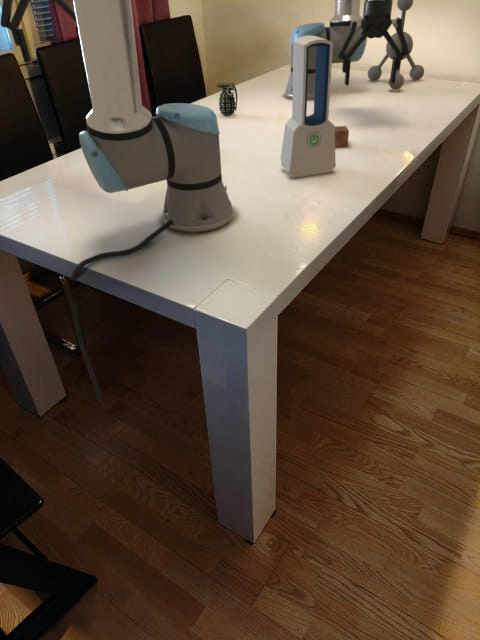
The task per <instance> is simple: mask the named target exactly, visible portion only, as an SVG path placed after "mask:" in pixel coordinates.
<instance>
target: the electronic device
mask: <svg viewBox="0 0 480 640" xmlns="http://www.w3.org/2000/svg"><path fill="white" fill-rule="evenodd" d="M314 46H317V48H316V71H315V95H314V99H313V100H314V101H313V113H312V114H310V115H307V112H308V111H307V106H308V100H307V82H308V52H309V48H311V47H314ZM332 52H333V42H331V41H328V40H325V39H323V38H320V37H317V36H311V35H309V36H303V37H300V38H298V39H296V40H294V41H293V99H291V100H292V102H291V103H292V104H291V105H292V106H291V109H292V110H291V111H292V113H291V118H289V119H288V120H287V121H286V123H285V124H284V129H283V130H284V131H283V137H282V145H281V151H280V152H281V153H280V165H281V167H282V168H283V169H284V170H285V171H286V172H287V173H288V174H289V175H290V176H291V177H292V178H294V179H295V178H301V177H307V176H313V175H314V176H315V175H319V174H326V173H332V172H333V170H334V169H335V168H336V148H335V127H336V126H335V124H334V123H333V122H332V121H330V120H329V117H330V116H329V115H330V98H331V83H332V81H331V80H332V68H333V67H332V65H333V63H332Z"/></svg>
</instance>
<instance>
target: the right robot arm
mask: <svg viewBox="0 0 480 640" xmlns="http://www.w3.org/2000/svg"><path fill="white" fill-rule="evenodd" d="M393 2H394V0H364V1H363V12H362V15H361V14H360V12H361V11H360V9H361V0H334V15H333V16H332V17H331V18H330V20H329V26H326V25H325V23H324V22H311V23H306V24H301V25H299V26H296V27H294V28H293V29H292V32H291V35H290V43H289V44H290V73H289V77H288V81H287V84H286V87H285V97H286V98H287V99H290V100H292V99H293V41H294V40H296V39H298V38H300V37H303V36H309V35H311V36H317V37H320V38H323V39H325V40H328V41H331V42H333V52H332V64H342V68H341V72H342V73H344V75H345V76H344V85H345V86H350V74H351V63H355V62H359V61H360V60H361V59H362V57H363V55H364V53H365V50H366V47H367V41H368V39H374V38H376V39H382V38H384V40H385V41H386V43H387V42H388V43H389V45H390V47H391V48H392V50H393V51H394V53H395V54H396V57H393V60H392V63H391V70H390V77H389V79H390V81H391V82H392V83H395V77H396V70H399V69H400V70H401V65H402V60H401V59H402V57H403V56H405V55H408V54H409V50H408V47H407V43H406V40H405V37H404V33H403V32H404V30H402V19H401V17H399V16H397V17H396V18H392V9H393V4H394V3H393ZM391 26H392V27H393V28H395V33H396V32H397V36H398V39H399V42H400V45H401V48H402V51H400V50H399V48H398V47H397V45H396V44H395V42H394V41H393V39H392V38H391V36H392V35H391V34H390V33H389V28H391ZM316 48H317V46H314V47H311V48H309V52H308V82H307V101H309V100H314V95H315V71H316Z"/></svg>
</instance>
